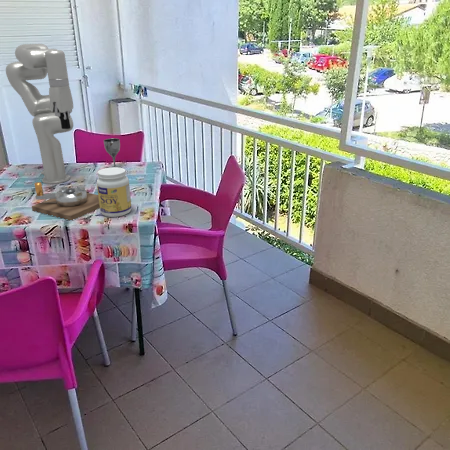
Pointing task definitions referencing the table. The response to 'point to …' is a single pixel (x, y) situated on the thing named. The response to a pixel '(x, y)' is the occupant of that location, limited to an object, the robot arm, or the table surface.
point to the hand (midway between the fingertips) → (66, 128)
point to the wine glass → (112, 147)
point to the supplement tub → (113, 192)
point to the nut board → (68, 208)
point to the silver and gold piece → (63, 195)
